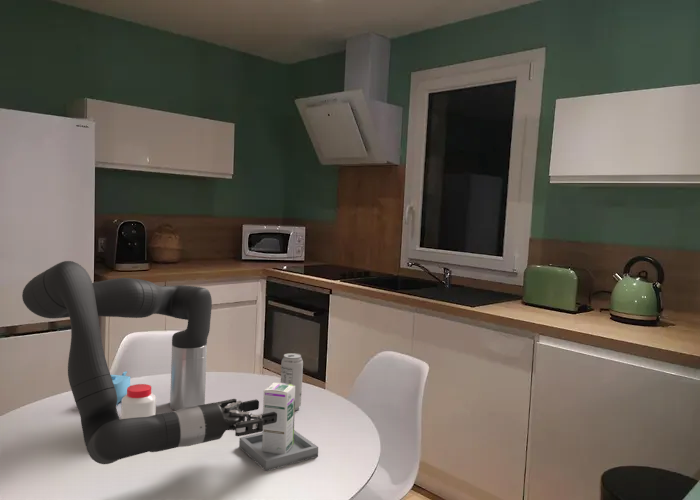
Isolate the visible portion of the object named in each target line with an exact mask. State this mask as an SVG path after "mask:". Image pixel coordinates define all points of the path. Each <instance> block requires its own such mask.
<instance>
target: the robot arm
mask: <svg viewBox="0 0 700 500" xmlns="http://www.w3.org/2000/svg"><path fill="white" fill-rule="evenodd" d="M21 293H22V294H21V295H22V298H21V299H22V302H23V304H24V305H25V307H26V308H27V309H28V310H29V311H30V312H31V313H33V314H35V315H37V316H39V317H41V318H45V319H63V318H65V319H66V318H69V320H70V327H71V328H70V330H71V333H70V334H71V338H70V345H69V353H68V360H67V361H68V362H67V376H68V377H67V379H68V383H69V386H70V389H71V393H72V396H73V399H74V402H75V405H76V407H77V411H78V413H79V416H80V424H81V429H82V435H83V441H84V445H85V448H86V451H87V453H88V455H89V457H90V458H91V460H93V462H95V463H97V464H99V465H109V464H110V465H111V464H112V463H115V462H117V461H119V460H122V459H126V458H130V457H133V456H137V455H141V454H146V453H157V452H162V451H167V450H172V449H176V448H184V447H191V446H196V445H200V444H204V443H207V442H208V443H209V442H212V441H216V440H220V439H222V437H223V436H224V433H225V432H226V431H235V434H234V435H235V436H236V437H241V436H242V437H244V436H249V435H254V434H258V433H262V432H263V425H267V424H272V423H275V422H276V421H277V413H276V412H271V413H266V414H263V413H262V414H252V412H253V411H256V410H257V411H258V410H259V408H260V400H259V399H256V398H255V399H251V400H246V401H243V400H238V401H237V399H236V398H231V399H227V400H222V401H218V402H210V403H206V379H207V378H206V377H207V357H208V356H207V355H208V354H207V353H208V352H207V349H208V338H209V335H210V331H211V318H212V309H213V308H212V305H213V301H212V300H213V299H212V294H211V292H210V291H209V290H208V289H207V288H206V287H202V286H201V287H200V286H192V285H184V284H181V285H158V284H155V283H154V282H152V281H149V280H146V279H145V280H144V279H140V278H139V279H138V278H134V277H133V278H132V277H120V278H119V277H118V278H117V277H116V278H111V279H105V280H100V281H96V282H93V281H92V279H91V275H89V273H88V271H87V270H86V268H85V267H83V266H82V265H81V264H79V263H78V262H76V261H75V262H74V261H72V260H64V261H61V262H58V263H56V264H55V265H53V266H51V267H49V268H47V269H46V270H44V271H43V272H41V273H39V274H38V275H35V276H34V277H33V278H32V279H30V281H28V282H27V284H25V286H24V287H23V290H22V292H21ZM152 315H162V316H167V317H172V318H175V319H177V320H178V319H179V320H185V321H186V320H187V326H186V329H183V330H180V331H177V332H175V333H174V334H173V335H172V337H171V363H170V364H171V365H170V366H171V368H170V369H171V370H170V395H169V396H170V397H169V407H170V408H171V409H172V410H173V411H168V412H164V413H157V414H156V415H153V416H149V417H137V418H127V419H121V418H120V417H119V413H118V410H117V409H118V408H117V406H116V404H117V393H116V390H115V387H114V384H113V381H112V378H111V375H112V374H111V372H110V369H109V366H108V362H107V359H106V356H105V351H104V347H103V342H102V334H101V333H102V332H101V327H100V326H101V325H100V319H99V318H100V317H107V318H109V317H110V318H111V317H112V318H127V319H129V318H131V319H138V318H139V319H140V318H143V319H144V318H148V317H150V316H152Z"/></svg>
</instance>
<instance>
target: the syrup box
mask: <svg viewBox="0 0 700 500" xmlns="http://www.w3.org/2000/svg"><path fill="white" fill-rule="evenodd" d="M262 405H263V407H262V414H266V413H271V412H276V413H277V421H276V422H275V423H272V424H267V425H263V431H262V432H263V435H262V451H263V452H268V453H273V454H280V455H282V454H286V453H287V452H288V451H289V449H290V448H291V447H292V446H293V444H294V430H295V411H296V410H295V385H292V384H287V383H281V382H275V381H273V382H272V383H271V384H270V385H269V386H267V387H266V388H265V389H264V390H263V403H262Z"/></svg>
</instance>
